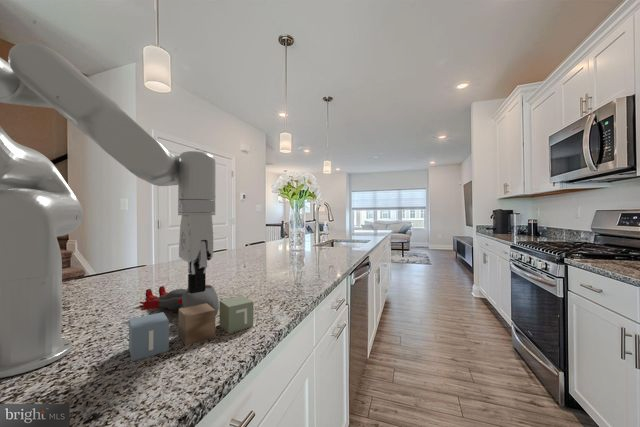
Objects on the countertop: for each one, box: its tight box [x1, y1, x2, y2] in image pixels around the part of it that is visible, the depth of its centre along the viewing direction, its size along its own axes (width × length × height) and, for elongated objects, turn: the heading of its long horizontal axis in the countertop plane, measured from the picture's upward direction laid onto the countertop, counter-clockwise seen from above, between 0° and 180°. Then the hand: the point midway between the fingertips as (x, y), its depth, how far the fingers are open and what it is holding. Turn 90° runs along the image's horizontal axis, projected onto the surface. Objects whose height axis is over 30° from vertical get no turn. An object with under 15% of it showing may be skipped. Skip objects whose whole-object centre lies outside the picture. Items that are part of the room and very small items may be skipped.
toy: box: [138, 284, 220, 317], centre depth 74 cm, size 16×10×30 cm
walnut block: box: [178, 303, 216, 346], centre depth 59 cm, size 6×6×6 cm
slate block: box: [128, 311, 170, 361], centre depth 53 cm, size 6×6×6 cm
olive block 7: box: [218, 295, 254, 334], centre depth 64 cm, size 6×6×6 cm
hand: (196, 291), depth 59 cm, fingers closed
